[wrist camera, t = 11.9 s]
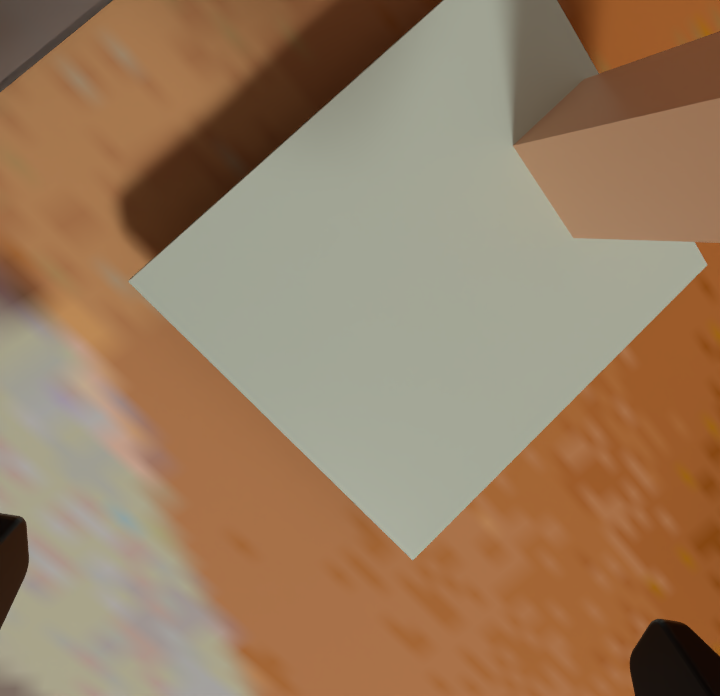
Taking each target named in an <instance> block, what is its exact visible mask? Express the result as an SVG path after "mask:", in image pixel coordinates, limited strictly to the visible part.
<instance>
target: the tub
mask: <svg viewBox="0 0 720 696" xmlns="http://www.w3.org/2000/svg"><path fill="white" fill-rule="evenodd" d="M111 1H112V0H0V92H1V91H2V90H4V89H5V88H6V87H7V86H8V85H10V84H11V83H12V82H13V81H15V80H16V79H17V78H18V77H19V76H21V75H22V74H23V73H24V72H26V71H27V70H28V69H29V68H30V67H32V66H33V65H34V64H35V63H37V62H38V61H39V60H40V59H41V58H43V57H44V56H45V55H46V54H48V53H49V52H50V51H51V50H53V49H54V48H55V47H56V46H57V45H59V44H60V43H61V42H62V41H64V40H65V39H66V38H67V37H68V36H70V35H71V34H72V33H73V32H75V31H76V30H77V29H78V28H79V27H81V26H82V25H83V24H84V23H86V22H87V21H88V20H89V19H90V18H92V17H93V16H94V15H95V14H97V13H98V12H99V11H100V10H101V9H103V8H104V7H105V6H106V5H108V4H109V3H110V2H111Z"/></svg>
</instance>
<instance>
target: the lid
mask: <svg viewBox="0 0 720 696" xmlns="http://www.w3.org/2000/svg"><path fill="white" fill-rule="evenodd" d="M695 242H714V243H720V31H719V32H717V33H714V34H711V35H708V36H705V37H702V38H700V39H697V40H694V41H691V42H688V43H685V44H682V45H680V46H677V47H674V48H671V49H668V50H665V51H663V52H660V53H657V54H654V55H651V56H648V57H646V58H643V59H640V60H637V61H634V62H631V63H628V64H626V65H623V66H620V67H617V68H614V69H611V70H609V71H606V72H603V73H600V74H599V73H598V71H597V70H596V68H595V66H594V64H593V63H592V61H591V59H590V57H589V56H588V54H587V52H586V50H585V49H584V47H583V45H582V43H581V41H580V40H579V38H578V36H577V34H576V33H575V31H574V29H573V27H572V26H571V24H570V22H569V20H568V19H567V17H566V15H565V13H564V12H563V10H562V8H561V6H560V4H559V3H558V1H557V0H442V1H441V2H440V3H439V4H438V5H437V6H436V7H434V8H433V9H432V10H431V11H430V12H429V13H428V14H427V15H425V16H424V17H423V18H422V19H421V20H420V21H419V22H418V23H417V24H415V25H414V26H413V27H412V28H411V29H410V30H409V31H408V32H406V33H405V34H404V35H403V36H402V37H401V38H400V39H399V40H397V41H396V42H395V43H394V44H393V45H392V46H391V47H390V48H388V49H387V50H386V51H385V52H384V53H383V54H382V55H381V56H379V57H378V58H377V59H376V60H375V61H374V62H373V63H372V64H371V65H369V66H368V67H367V68H366V69H365V70H364V71H363V72H362V73H360V74H359V75H358V76H357V77H356V78H355V79H354V80H353V81H351V82H350V83H349V84H348V85H347V86H346V87H345V88H344V89H342V90H341V91H340V92H339V93H338V94H337V95H336V96H335V97H333V98H332V99H331V100H330V101H329V102H328V103H327V104H326V105H324V106H323V107H322V108H321V109H320V110H319V111H318V112H317V113H316V114H314V115H313V116H312V117H311V118H310V119H309V120H308V121H307V122H305V123H304V124H303V125H302V126H301V127H300V128H299V129H298V130H296V131H295V132H294V133H293V134H292V135H291V136H290V137H289V138H287V139H286V140H285V141H284V142H283V143H282V144H281V145H280V146H278V147H277V148H276V149H275V150H274V151H273V152H272V153H271V154H270V155H268V156H267V157H266V158H265V159H264V160H263V161H262V162H261V163H259V164H258V165H257V166H256V167H255V168H254V169H253V170H252V171H250V172H249V173H248V174H247V175H246V176H245V177H244V178H243V179H241V180H240V181H239V182H238V183H237V184H236V185H235V186H234V187H232V188H231V189H230V190H229V191H228V192H227V193H226V194H225V195H224V196H222V197H221V198H220V199H219V200H218V201H217V202H216V203H215V204H213V205H212V206H211V207H210V208H209V209H208V210H207V211H206V212H204V213H203V214H202V215H201V216H200V217H199V218H198V219H197V220H195V221H194V222H193V223H192V224H191V225H190V226H189V227H188V228H186V229H185V230H184V231H183V232H182V233H181V234H180V235H179V236H178V237H176V238H175V239H174V240H173V241H172V242H171V243H170V244H169V245H167V246H166V247H165V248H164V249H163V250H162V251H161V252H160V253H158V254H157V255H156V256H155V257H154V258H153V259H152V260H151V261H149V262H148V263H147V264H146V265H145V266H144V267H143V268H142V269H140V270H139V271H138V272H137V273H136V274H135V275H134V276H133V277H131V278H130V280H129V281H128V282H129V283H130V284H131V285H132V286H133V287H134V288H135V289H136V290H137V291H138V292H139V293H140V294H141V295H142V296H143V297H145V298H146V299H147V300H148V301H149V302H150V303H151V304H152V305H153V306H154V307H155V308H156V309H157V310H158V311H159V312H160V313H161V314H162V315H163V316H164V317H165V318H166V319H167V320H168V321H169V322H170V323H171V324H172V325H173V326H174V327H175V328H176V329H177V330H178V331H179V332H180V333H181V334H182V335H183V336H184V337H185V338H186V339H187V340H188V341H189V342H190V343H191V344H192V345H193V346H194V347H196V348H197V349H198V350H199V351H200V352H201V353H202V354H203V355H204V356H205V357H206V358H207V359H208V360H209V361H210V362H211V363H212V364H213V365H214V366H215V367H216V368H217V369H218V370H219V371H220V372H221V373H222V374H223V375H224V376H225V377H226V378H227V379H228V380H229V381H230V382H231V383H232V384H233V385H234V386H235V387H236V388H237V389H238V390H239V391H240V392H241V393H242V394H243V395H244V396H246V397H247V398H248V399H249V400H250V401H251V402H252V403H253V404H254V405H255V406H256V407H257V408H258V409H259V410H260V411H261V412H262V413H263V414H264V415H265V416H266V417H267V418H268V419H269V420H270V421H271V422H272V423H273V424H274V425H275V426H276V427H277V428H278V429H279V430H280V431H281V432H282V433H283V434H284V435H285V436H286V437H287V438H288V439H289V440H290V441H291V442H292V443H293V444H294V445H296V446H297V447H298V448H299V449H300V450H301V451H302V452H303V453H304V454H305V455H306V456H307V457H308V458H309V459H310V460H311V461H312V462H313V463H314V464H315V465H316V466H317V467H318V468H319V469H320V470H321V471H322V472H323V473H324V474H325V475H326V476H327V477H328V478H329V479H330V480H331V481H332V482H333V483H334V484H335V485H336V486H337V487H338V488H339V489H340V490H341V491H342V492H343V493H344V494H346V495H347V496H348V497H349V498H350V499H351V500H352V501H353V502H354V503H355V504H356V505H357V506H358V507H359V508H360V509H361V510H362V511H363V512H364V513H365V514H366V515H367V516H368V517H369V518H370V519H371V520H372V521H373V522H374V523H375V524H376V525H377V526H378V527H379V528H380V529H381V530H382V531H383V532H384V533H385V534H386V535H387V536H388V537H389V538H390V539H391V540H392V541H393V542H394V543H395V544H397V545H398V546H399V547H400V548H401V549H402V550H403V551H404V552H405V553H406V554H407V555H408V556H409V557H410V558H411V559H412V560H414V559H415V558H416V557H417V556H418V555H419V554H420V553H421V552H422V551H423V550H424V549H425V548H426V547H427V546H428V545H429V544H430V543H431V542H432V541H433V540H434V539H435V538H436V537H437V536H438V535H439V534H440V533H441V532H442V531H443V530H444V529H445V528H446V527H447V526H448V525H449V524H450V523H451V522H452V521H453V520H454V519H455V518H456V517H457V516H458V515H459V514H460V513H461V512H462V511H463V510H464V509H465V508H466V507H467V506H468V505H469V504H470V503H471V501H472V500H473V499H474V498H475V497H476V496H477V495H478V494H479V493H480V492H481V491H482V490H483V489H484V488H485V487H486V486H487V485H488V484H489V483H490V482H491V481H492V480H493V479H494V478H495V477H496V476H497V475H498V474H499V473H500V472H501V471H502V470H503V469H504V468H505V467H506V466H507V465H508V464H509V463H510V462H511V461H512V460H513V459H514V458H515V457H516V456H517V455H518V454H519V453H520V452H521V451H522V450H523V449H524V448H525V447H526V446H527V445H528V444H529V443H530V442H531V441H532V440H533V439H534V438H535V437H536V436H537V435H538V434H539V433H540V432H541V431H542V430H543V429H544V428H545V427H546V426H547V425H548V424H549V423H550V422H551V421H552V420H553V419H554V418H555V417H556V416H557V415H558V414H559V413H560V412H561V411H562V410H563V409H564V408H565V407H566V406H567V405H568V404H569V403H570V402H571V401H572V400H573V399H574V398H575V397H576V396H577V395H578V394H579V393H580V392H581V391H582V390H583V389H584V388H585V387H586V386H587V385H588V384H589V383H590V382H591V381H592V380H593V379H594V378H595V377H596V376H597V375H598V374H599V373H600V372H601V371H602V370H603V369H604V368H605V367H606V366H607V365H608V364H609V363H610V362H611V361H612V360H613V359H614V358H615V357H616V356H617V355H618V354H619V353H620V352H621V351H622V350H623V349H624V348H625V347H626V346H627V345H628V344H629V343H630V342H631V341H632V340H633V339H634V338H635V337H636V336H637V335H638V334H639V333H640V332H641V331H642V330H643V329H644V328H645V327H646V326H647V325H648V324H649V323H650V322H651V321H652V320H653V319H654V318H655V317H656V316H657V315H658V314H659V313H660V312H661V311H662V310H663V309H664V308H665V307H666V306H667V305H668V304H669V303H670V302H671V301H672V300H673V299H674V298H675V297H676V296H677V295H678V294H679V293H680V292H681V291H682V290H683V289H684V288H685V287H686V286H687V285H688V284H689V283H690V282H691V281H692V280H693V279H694V278H695V277H696V276H697V275H698V274H699V273H700V272H701V271H702V270H703V269H704V268H705V267H706V266H707V263H706V262H705V260H704V258H703V256H702V255H701V253H700V251H699V249H698V248H697V246H696V244H695Z"/></svg>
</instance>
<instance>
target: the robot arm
mask: <svg viewBox="0 0 720 696" xmlns="http://www.w3.org/2000/svg"><path fill="white" fill-rule="evenodd" d="M28 563H29V553H28V539H27V526H26V521H25V520H24V519H23V518H22V517H20V516H15V515H8V514H2V513H0V629H1V627H2V624H3V622H4V620H5V618H6V616H7V614H8V612H9V610H10V607H11V605H12V603H13V601H14V599H15V597H16V595H17V592H18V590H19V588H20V586H21V584H22V582H23V580H24V577H25V575H26V572H27V568H28ZM630 672H631V677H632V682H633V687H634V692H635V696H720V656H719V655H718V654H716V653H715V652H714V651H713V650H712V649H711V648H710V647H709V646H708V645H707V644H706V643H705V642H704V641H703V640H702V639H701V638H700V637H699V636H698V635H697V634H696V633H695V632H694V631H693V630H692V629H690V628H689V627H688V626H687V625H685V624H683V623H681V622H677V621H671V620H664V619H656V620H654V621H652V622H651V623H650V625H649V626H648V628H647V629H646V631H645V632H644V634H643V635H642V637H641V639H640V640H639V642H638V643H637V645H636V646H635V648H634V649H633V651H632V654H631V657H630Z"/></svg>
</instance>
